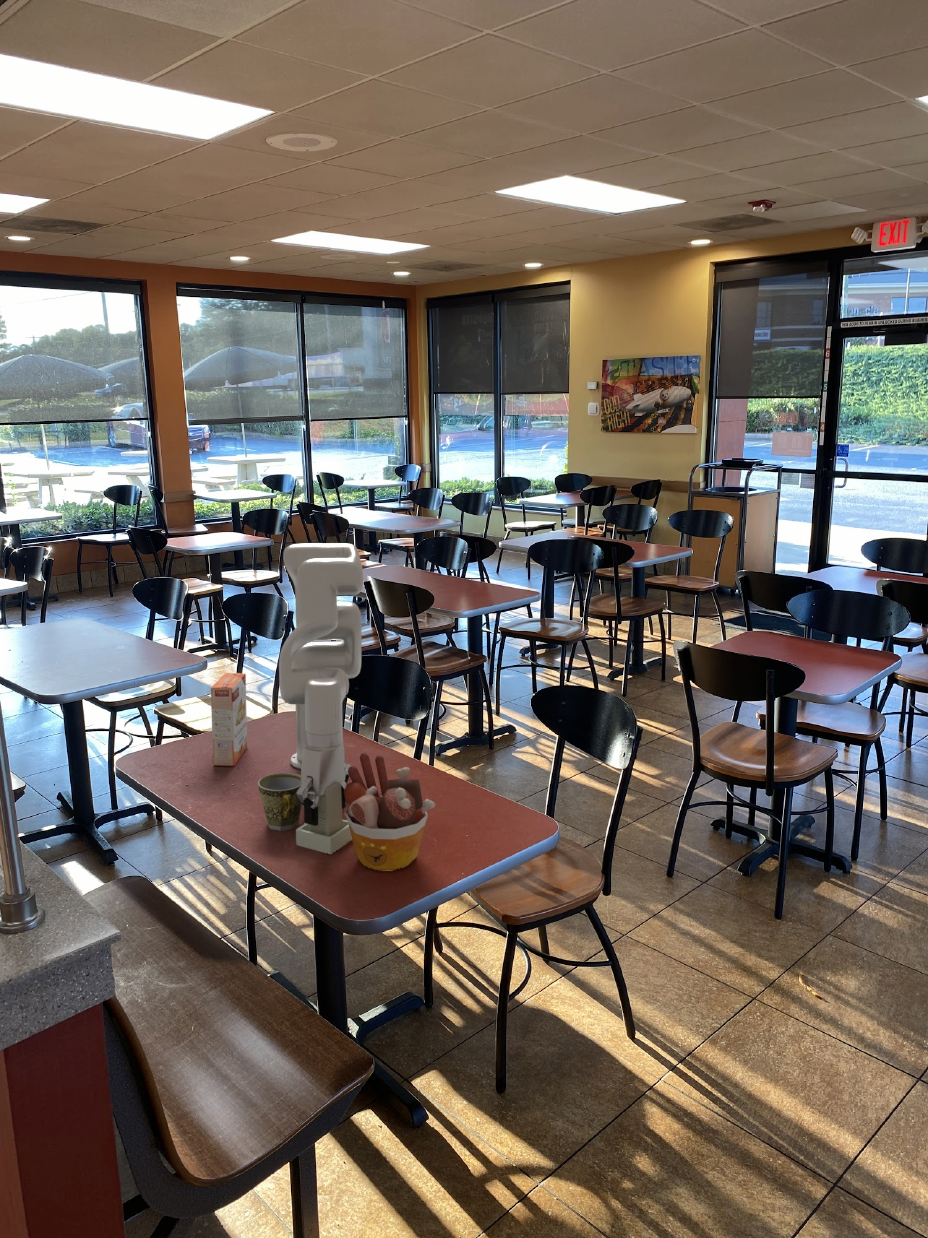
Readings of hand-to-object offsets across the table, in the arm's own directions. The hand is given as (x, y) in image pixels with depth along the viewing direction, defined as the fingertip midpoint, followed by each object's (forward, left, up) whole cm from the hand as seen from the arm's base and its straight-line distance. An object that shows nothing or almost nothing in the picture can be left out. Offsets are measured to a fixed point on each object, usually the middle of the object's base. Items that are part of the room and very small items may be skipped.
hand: (325, 815), depth 193 cm
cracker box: (-28, -50, -6) cm, 57 cm away
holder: (0, 0, -6) cm, 6 cm away
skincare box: (0, 0, -5) cm, 5 cm away
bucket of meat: (0, +15, -6) cm, 16 cm away
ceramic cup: (-1, -12, -6) cm, 13 cm away
